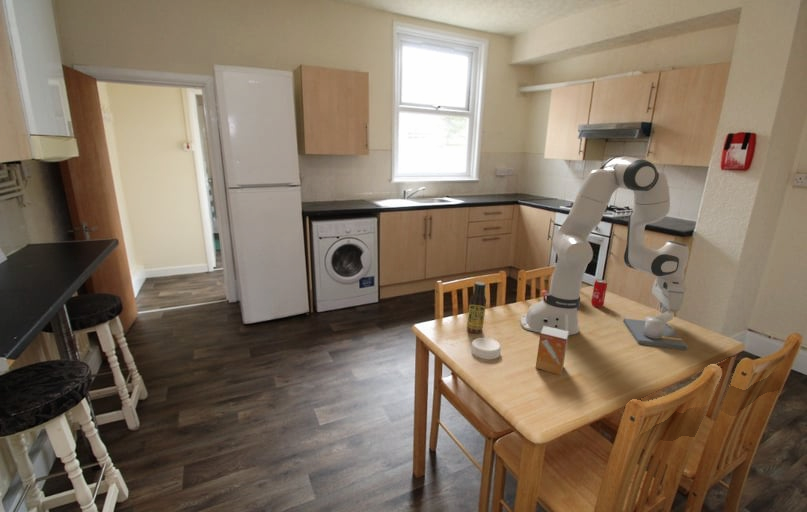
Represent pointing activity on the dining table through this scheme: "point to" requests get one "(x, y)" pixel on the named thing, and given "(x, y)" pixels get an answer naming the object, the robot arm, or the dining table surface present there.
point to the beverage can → (599, 293)
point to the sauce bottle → (477, 309)
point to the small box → (552, 349)
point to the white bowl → (486, 348)
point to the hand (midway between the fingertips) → (662, 312)
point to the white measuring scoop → (656, 324)
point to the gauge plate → (667, 340)
